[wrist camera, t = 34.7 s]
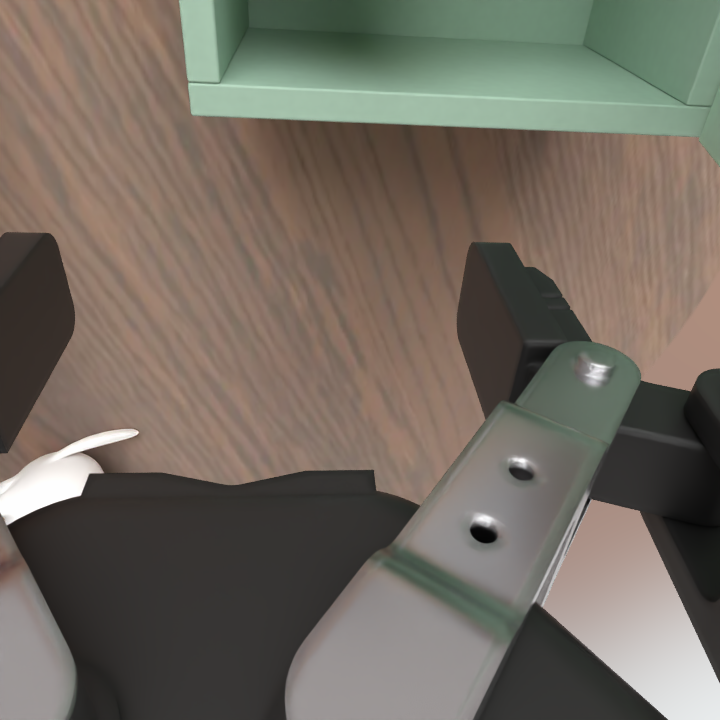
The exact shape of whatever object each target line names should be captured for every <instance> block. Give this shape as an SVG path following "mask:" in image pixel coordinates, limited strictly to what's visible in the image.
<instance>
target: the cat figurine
mask: <svg viewBox="0 0 720 720" xmlns="http://www.w3.org/2000/svg"><path fill="white" fill-rule="evenodd" d="M138 433H139V432H138V431H137V430H135V429H118V430H112V431H106V432H102V433H98V434H95V435H91V436H88V437H86V438H83V439H81V440H79V441H76V442H74V443H72V444H70V445H68V446H67V447H65V448H63V449H61V450H60V451H58V452H53V453H49V454H46V455H43V456H41V457H39V458H37V459H35V460H33V461H32V462H30V463H29V464H28V465H26V466H25V467H24V468H23V469H22V470H21V471H20V472H19V473H18V474H17V475H15V476H14V477H12V478H10V479H7V480H5V481H3V482H1V483H0V513H1V515H2V517H5V523H6V525H8V524H10V523H12V522H13V521H15V520H17V519H19V518H20V517H23V516H25V515H27V514H29V513H31V512H33V511H35V510H37V509H40V508H42V507H45V506H47V505H50V504H53V503H55V502H59V501H62V500H65V499H69V498H72V497H77V496H81V494H82V491H83V488H84V486H85V483H86V481H87V478H88V476H89V473H104V472H103V470H102V468H101V467H100V465H99V464H98V463H97V462H96V460H94V459H93V458H91V457H90V456H88V455H86V454H83V453H79V452H81V451H84V450H87V449H91V448H95V447H98V446H102V445H106V444H109V443H113V442H117V441H120V440H124V439H128V438H131V437H133V436H136V435H137V434H138Z"/></svg>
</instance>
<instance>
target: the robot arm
mask: <svg viewBox="0 0 720 720" xmlns="http://www.w3.org/2000/svg"><path fill="white" fill-rule="evenodd" d="M74 325H75V311H74V305H73V301H72V297H71V293H70V289H69V286H68V282H67V278H66V274H65V270H64V267H63V263H62V259H61V255H60V251H59V248H58V245H57V242H56V240H55V238H54V237H53V236H52V235H51V234H49V233H16V232H7V233H5V234H3V235H2V236H1V237H0V453H8V451H9V449H10V448H11V446H12V444H13V442H14V440H15V438H16V437H17V435H18V433H19V431H20V429H21V428H22V426H23V424H24V422H25V420H26V418H27V417H28V415H29V413H30V411H31V409H32V408H33V406H34V404H35V402H36V400H37V399H38V397H39V395H40V393H41V391H42V389H43V388H44V386H45V384H46V382H47V380H48V379H49V377H50V375H51V373H52V371H53V370H54V368H55V366H56V364H57V362H58V360H59V359H60V357H61V355H62V353H63V351H64V350H65V348H66V346H67V344H68V342H69V340H70V339H71V337H72V334H73V331H74ZM457 333H458V339H459V342H460V345H461V348H462V351H463V354H464V357H465V360H466V363H467V366H468V368H469V371H470V374H471V377H472V380H473V383H474V386H475V389H476V392H477V395H478V398H479V401H480V404H481V407H482V410H483V413H484V416H485V418H486V421H485V422H484V423H483V425H482V426H481V427H480V429H479V430H478V431H477V432H476V434H475V435H474V436H473V438H472V439H471V440H470V442H469V443H468V444H467V446H466V447H465V448H464V450H463V451H462V452H461V453H460V455H459V456H458V457H457V459H456V460H455V461H454V463H453V464H452V465H451V467H450V468H449V469H448V471H447V472H446V473H445V475H444V476H443V477H442V478H441V480H440V481H439V482H438V484H437V485H436V486H435V488H434V489H433V490H432V492H431V493H430V494H429V496H428V497H427V498H426V499H425V501H424V502H423V503H422V505H421V506H420V505H418V504H416V503H413V502H411V501H408V500H406V499H404V498H401V497H398V496H395V495H391V494H388V493H384V492H380V491H376V486H375V477H374V470H337V471H303V472H298V473H293V474H288V475H284V476H279V477H274V478H269V479H265V480H260V481H255V482H250V483H245V484H241V485H223V484H218V483H213V482H208V481H202V480H197V479H192V478H187V477H182V476H176V475H171V474H166V473H89V476H88V478H87V481H86V483H85V486H84V488H83V491H82V494H81V496H77V497H72V498H69V499H65V500H62V501H59V502H55V503H53V504H50V505H47V506H45V507H42V508H40V509H37V510H35V511H33V512H31V513H29V514H27V515H25V516H23V517H20V518H19V519H17V520H15V521H13V522H12V523H10V524H8V525H6V523H5V521H4V519H3V517H2V515H1V513H0V720H668V719H667V718H666V717H664V716H663V715H662V714H661V713H660V712H659V711H658V710H657V709H656V708H654V707H653V706H652V705H651V704H650V703H649V702H648V701H647V700H645V699H644V698H643V697H642V696H641V695H640V694H639V693H638V692H636V691H635V690H634V689H633V688H632V687H631V686H630V685H629V684H628V683H626V682H625V681H624V680H623V679H622V678H621V677H620V676H618V675H617V674H616V673H615V672H614V671H613V670H612V669H611V668H610V667H608V666H607V665H606V664H605V663H604V662H603V661H602V660H601V659H599V658H598V657H597V656H596V655H595V654H594V653H593V652H592V651H591V650H589V649H588V648H587V647H586V646H585V645H584V644H583V643H581V642H580V641H579V640H578V639H577V638H576V637H575V636H573V635H572V634H571V633H570V632H569V631H568V630H567V629H566V628H565V627H564V626H562V625H561V624H560V623H559V622H558V621H557V620H556V619H555V618H554V617H552V616H551V615H550V614H549V613H548V612H547V611H546V610H545V609H543V606H544V603H545V601H546V599H547V596H548V594H549V592H550V589H551V587H552V585H553V582H554V580H555V578H556V576H557V574H558V571H559V569H560V567H561V565H562V563H563V561H564V558H565V556H566V554H567V552H568V549H569V548H570V545H571V543H572V541H573V539H574V537H575V535H576V533H577V530H578V528H579V526H580V524H581V522H582V520H583V518H584V515H585V513H586V511H587V509H588V507H589V505H590V502H591V500H592V499H593V500H597V501H601V502H606V503H609V504H614V505H618V506H622V507H626V508H630V509H634V510H639V511H640V513H641V515H642V517H643V520H644V522H645V524H646V526H647V528H648V530H649V532H650V534H651V537H652V539H653V541H654V543H655V545H656V547H657V550H658V552H659V554H660V556H661V558H662V560H663V562H664V564H665V567H666V569H667V571H668V573H669V575H670V577H671V580H672V581H673V584H674V586H675V588H676V590H677V592H678V595H679V597H680V599H681V601H682V603H683V605H684V607H685V610H686V611H687V614H688V616H689V618H690V620H691V622H692V625H693V627H694V629H695V631H696V633H697V635H698V637H699V640H700V642H701V644H702V646H703V648H704V650H705V652H706V654H707V657H708V659H709V661H710V663H711V665H712V667H713V669H714V672H715V674H716V676H717V678H718V680H719V682H720V369H711V370H707V371H705V372H703V373H701V374H700V375H699V376H698V378H697V380H696V382H695V384H694V386H693V388H692V390H691V391H686V390H681V389H676V388H671V387H667V386H662V385H657V384H652V383H648V382H644V381H641V373H640V370H639V368H638V367H637V365H636V364H635V363H634V362H633V361H632V360H631V359H630V358H629V357H627V356H626V355H624V354H623V353H621V352H620V351H618V350H616V349H614V348H611V347H609V346H606V345H602V344H599V343H594V342H592V340H591V339H590V337H589V336H588V334H587V333H586V331H585V330H584V328H583V326H582V325H581V323H580V322H579V320H578V319H577V317H576V316H575V314H574V312H573V311H572V310H570V306H569V305H568V303H567V302H566V300H565V298H562V294H561V292H560V291H559V289H558V288H557V286H556V284H555V283H554V281H553V280H552V279H550V278H549V277H547V276H546V275H545V274H543V273H542V272H540V271H539V270H538V269H536V268H535V267H524V265H523V264H522V262H521V260H520V259H519V257H518V255H517V253H516V252H515V250H514V248H513V247H512V245H511V244H510V243H488V242H473V243H471V245H470V247H469V250H468V254H467V259H466V265H465V271H464V277H463V282H462V288H461V294H460V300H459V306H458V312H457Z"/></svg>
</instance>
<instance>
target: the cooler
mask: <svg viewBox="0 0 720 720" xmlns="http://www.w3.org/2000/svg"><path fill="white" fill-rule="evenodd" d="M179 6H180V15H181V25H182V34H183V44H184V53H185V62H186V72H187V79H188V81H189V83H188V91H189V101H190V110H191V114H192V115H193V116H209V117H233V118H256V119H280V120H304V121H327V122H351V123H375V124H399V125H422V126H446V127H470V128H493V129H517V130H541V131H565V132H588V133H612V134H636V135H659V136H683V137H700V135H701V133H702V130H703V128H704V125H705V122H706V120H707V117H708V115H709V112H710V109H711V107H712V104H713V102H714V99H715V96H716V94H717V91H718V89H719V86H720V0H179Z"/></svg>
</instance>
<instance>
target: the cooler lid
mask: <svg viewBox="0 0 720 720" xmlns="http://www.w3.org/2000/svg"><path fill="white" fill-rule="evenodd" d="M699 142H700V143H701V144H702V145H703V147H704V148H705V149H706V150H707V152H708V153H709V154H710V155H711V157H712V158H713V159H714V160H715V162H716V163H717V164H718V165H719V167H720V86H719V89H718V91H717V94H716V96H715V99H714V102H713V104H712V107H711V109H710V112H709V115H708V117H707V120H706V122H705V125H704V128H703V130H702V133H701V135H700V138H699Z"/></svg>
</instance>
